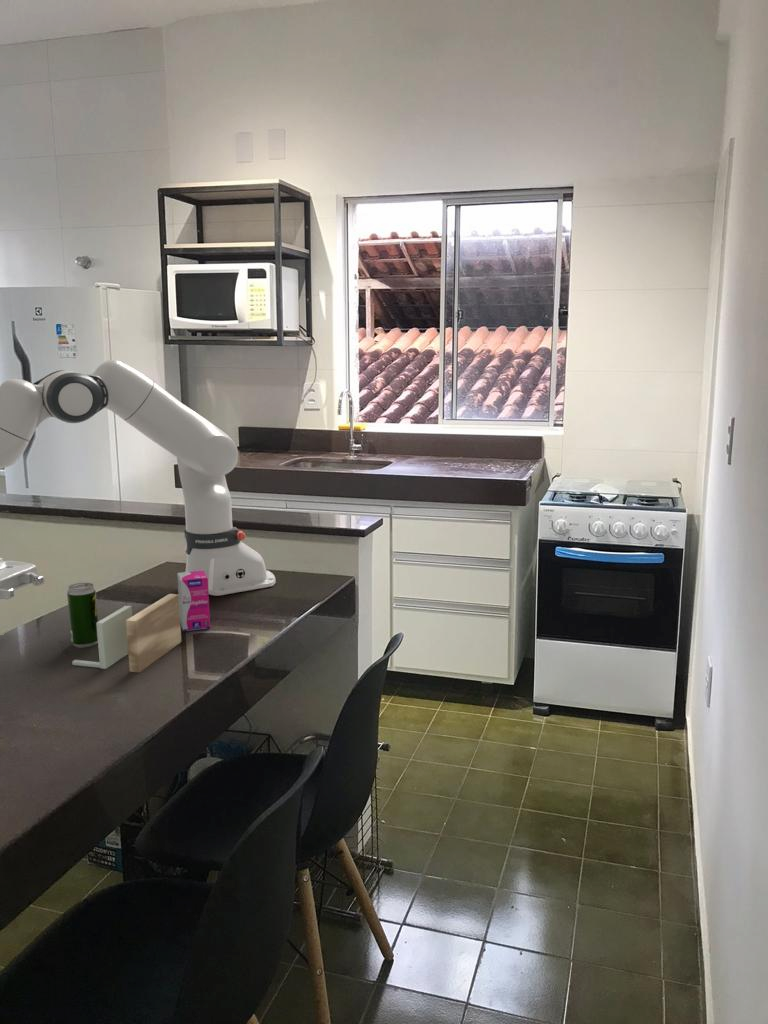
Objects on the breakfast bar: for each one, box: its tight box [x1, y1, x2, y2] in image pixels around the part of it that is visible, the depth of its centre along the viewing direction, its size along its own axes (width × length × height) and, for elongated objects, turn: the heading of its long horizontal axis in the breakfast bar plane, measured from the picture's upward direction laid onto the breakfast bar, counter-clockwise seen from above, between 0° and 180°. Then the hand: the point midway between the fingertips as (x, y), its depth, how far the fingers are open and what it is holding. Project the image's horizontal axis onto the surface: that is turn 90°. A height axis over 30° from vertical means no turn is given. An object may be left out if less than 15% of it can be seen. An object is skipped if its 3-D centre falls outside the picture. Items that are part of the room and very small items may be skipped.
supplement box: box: [176, 571, 211, 632], centre depth 178 cm, size 6×6×12 cm
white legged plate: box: [71, 605, 133, 670], centre depth 162 cm, size 7×10×9 cm
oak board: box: [126, 593, 182, 673], centre depth 162 cm, size 2×16×10 cm, turn 165°
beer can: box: [66, 582, 99, 649], centre depth 169 cm, size 5×5×12 cm
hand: (27, 587), depth 171 cm, fingers open, 8 cm apart
